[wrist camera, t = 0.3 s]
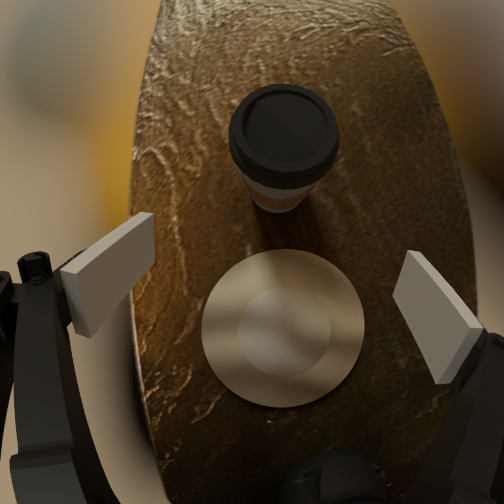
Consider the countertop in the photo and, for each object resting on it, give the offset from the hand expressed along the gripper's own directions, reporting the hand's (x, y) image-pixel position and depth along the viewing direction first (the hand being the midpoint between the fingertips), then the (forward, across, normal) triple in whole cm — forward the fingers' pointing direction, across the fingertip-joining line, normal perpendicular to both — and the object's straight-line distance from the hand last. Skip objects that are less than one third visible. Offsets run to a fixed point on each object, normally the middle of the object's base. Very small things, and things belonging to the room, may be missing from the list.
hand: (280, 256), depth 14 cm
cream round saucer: (+13, -2, +15) cm, 20 cm away
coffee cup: (+21, 0, +1) cm, 21 cm away
